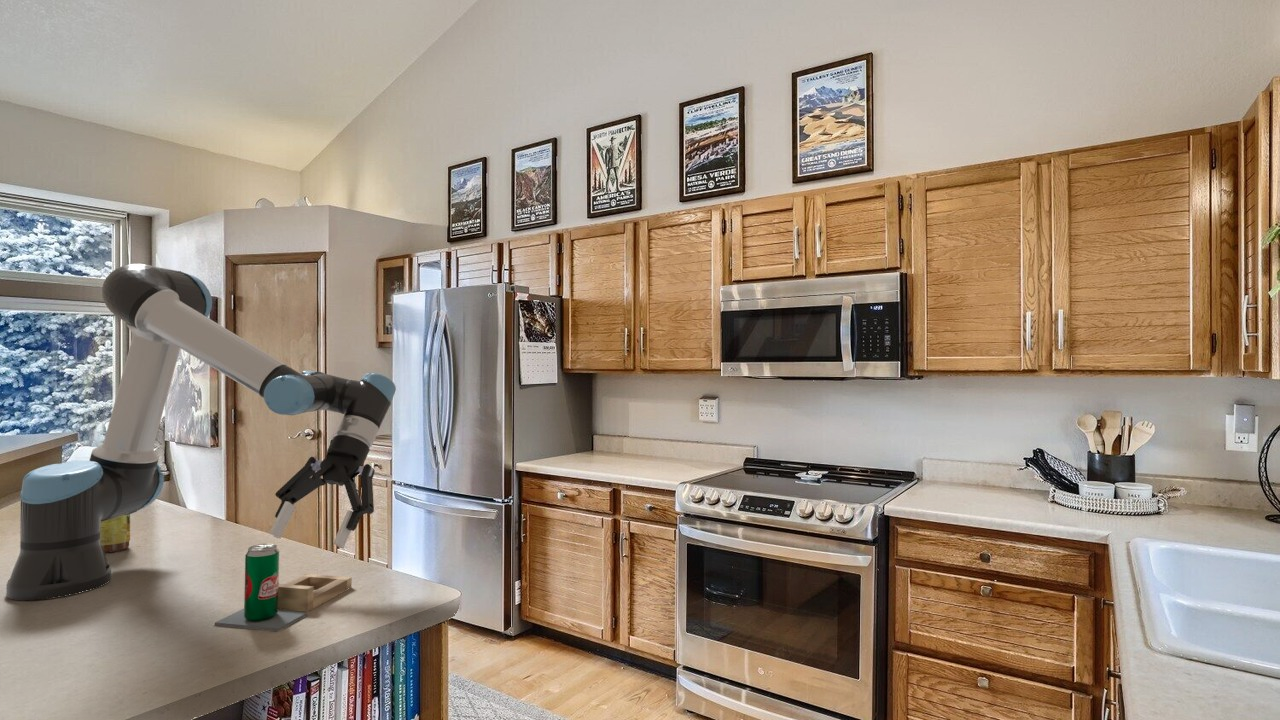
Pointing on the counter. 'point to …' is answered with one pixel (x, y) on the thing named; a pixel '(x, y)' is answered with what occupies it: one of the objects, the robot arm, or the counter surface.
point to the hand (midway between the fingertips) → (306, 541)
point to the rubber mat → (273, 624)
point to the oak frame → (310, 591)
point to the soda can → (261, 582)
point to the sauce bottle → (115, 534)
